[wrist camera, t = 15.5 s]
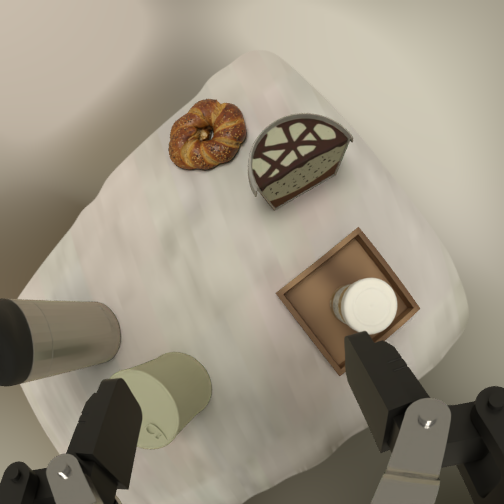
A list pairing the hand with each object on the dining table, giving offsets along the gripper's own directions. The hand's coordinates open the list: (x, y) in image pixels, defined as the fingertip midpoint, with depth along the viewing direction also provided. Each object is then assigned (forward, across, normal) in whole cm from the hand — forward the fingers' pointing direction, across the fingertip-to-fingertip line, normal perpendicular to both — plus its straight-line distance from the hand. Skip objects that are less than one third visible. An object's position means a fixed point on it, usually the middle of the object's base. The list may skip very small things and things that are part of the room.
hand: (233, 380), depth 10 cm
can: (+23, +12, +20) cm, 33 cm away
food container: (+33, -9, -2) cm, 34 cm away
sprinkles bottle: (+23, -12, +13) cm, 29 cm away
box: (+23, -12, +13) cm, 29 cm away
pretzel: (+38, +1, -8) cm, 39 cm away
